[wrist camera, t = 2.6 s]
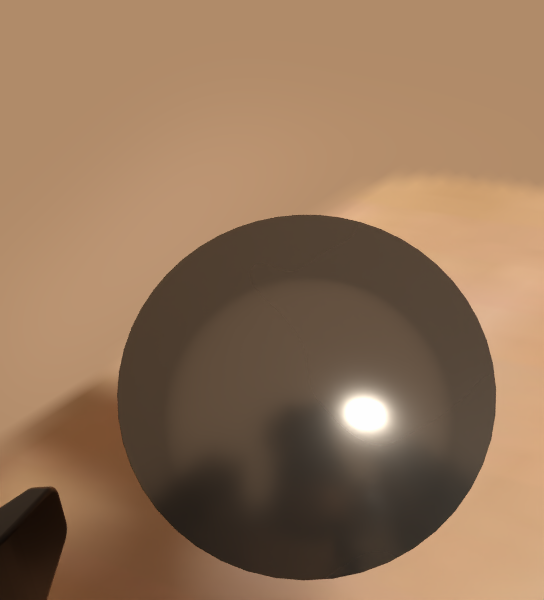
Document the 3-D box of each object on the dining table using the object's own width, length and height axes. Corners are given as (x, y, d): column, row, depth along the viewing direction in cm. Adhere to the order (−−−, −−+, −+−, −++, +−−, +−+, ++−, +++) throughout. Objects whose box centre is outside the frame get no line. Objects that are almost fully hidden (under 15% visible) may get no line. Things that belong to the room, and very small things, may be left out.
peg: (360, 579, 15) (473, 643, 4) (247, 544, 16) (55, 508, 5) (382, 459, 17) (510, 246, 5) (277, 432, 18) (189, 192, 6)
